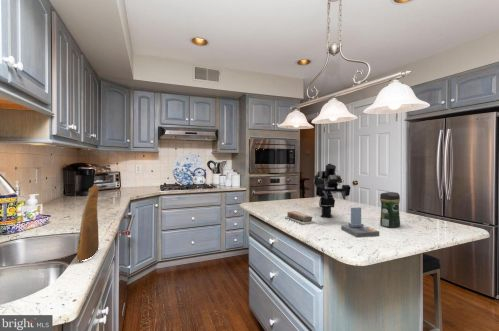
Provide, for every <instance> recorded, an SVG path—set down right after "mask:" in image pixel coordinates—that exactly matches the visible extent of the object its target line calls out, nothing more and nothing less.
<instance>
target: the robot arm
mask: <svg viewBox="0 0 499 331" xmlns="http://www.w3.org/2000/svg"><path fill="white" fill-rule="evenodd" d="M336 167H337V166H336V165H335V164H332V163H327V164H326V165H325V169H324V170H320V171H317V172H316V175H314V177H313V186H315V196H317V197H320V198H319V201H318V206H319V208H321V215H320V218H329V219H330V218H332V217H333V214H332V208H335V203H336V199H335V197H334V195H333V194H341V197H342V199H343V200H345V201H346V197H348V196H350V192H351V186H350V185H349V184H343V185H341V188H338V187H339V184H338V183H339V182H341V181H342V176H341V175H338V174H336Z"/></svg>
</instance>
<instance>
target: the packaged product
mask: <svg viewBox="0 0 499 331" xmlns="http://www.w3.org/2000/svg"><path fill="white" fill-rule="evenodd" d="M285 218H286V219H285ZM285 218H284V219H285V220H287V219H289V220H288V221H290V220H291V221H290V222H292V221H294V222H293V223H295V222H296V223H295V224H298V223H299V225H301V226H305V225H306V224H307V225H313V224H317V221H315V220H313V217H312V216H310V215H308V214H305V213H301V212H299V211H295V210H294V211H287V215H286V216H285Z"/></svg>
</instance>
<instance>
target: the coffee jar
mask: <svg viewBox="0 0 499 331" xmlns="http://www.w3.org/2000/svg"><path fill="white" fill-rule="evenodd" d="M379 196H380V198H379V200H380V207H381V208H380V221H379V222H380V223H379V224H380V225H381V226H382V227H384V228H391V229H392V228H398V227H400V226H401V218H400V217H401V216H400V201H401V197H400V193H399V192H394V191H388V192H387V191H386V192H381V193H380V195H379Z"/></svg>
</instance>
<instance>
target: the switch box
mask: <svg viewBox="0 0 499 331" xmlns="http://www.w3.org/2000/svg"><path fill="white" fill-rule="evenodd" d="M340 229H341V230H342V231H344V232H346V233H347V234H349V235H351V236H353V237H355V238H365V237H367V238H368V237H379V236H380V231H379V230H377V229H374V228H372V227H370V226H367V225H365V224H364V227H351V226H349V225H348V224H345V225H344V224H343V225H341V226H340Z"/></svg>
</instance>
